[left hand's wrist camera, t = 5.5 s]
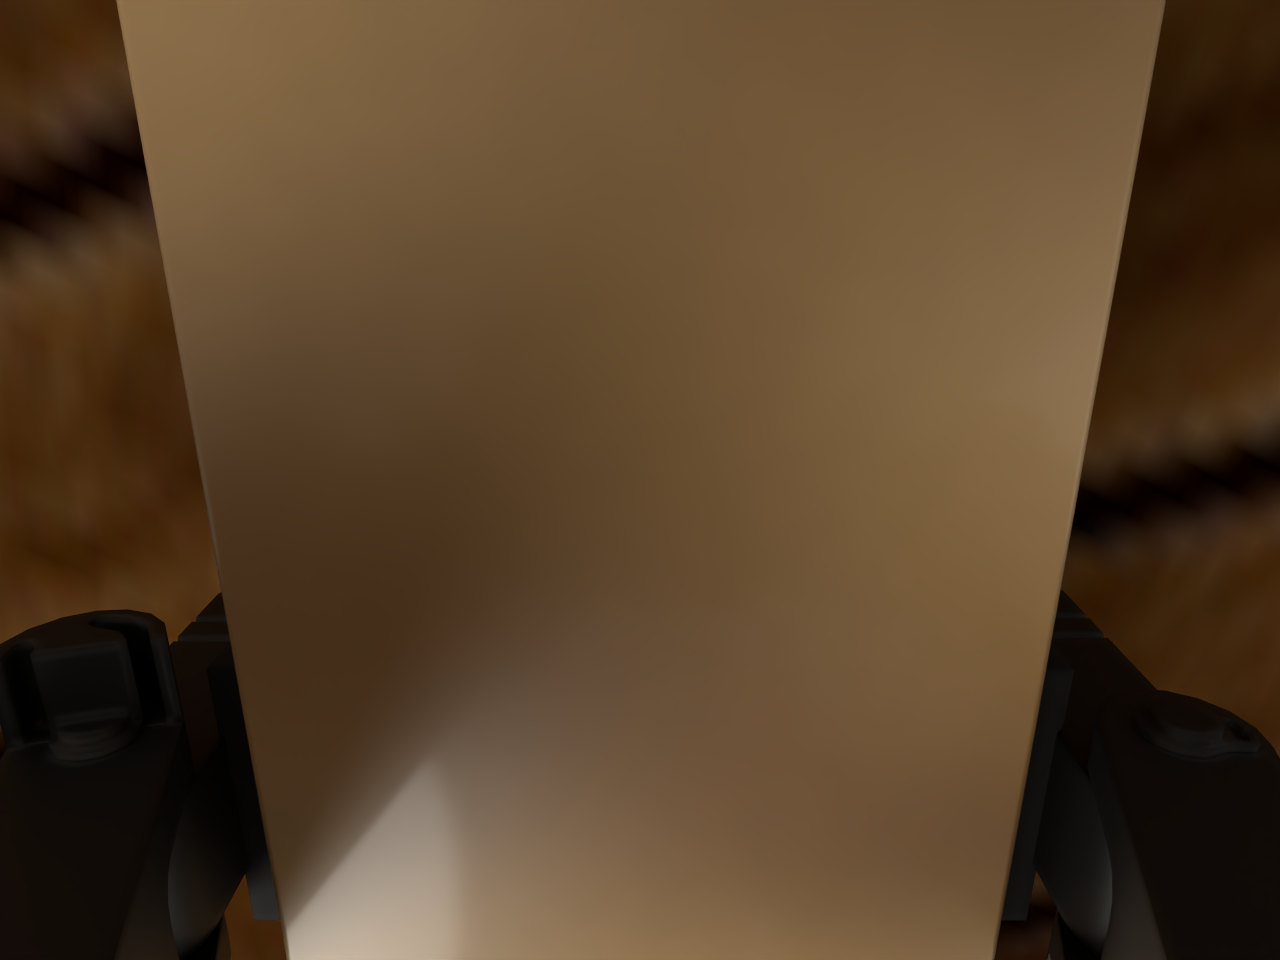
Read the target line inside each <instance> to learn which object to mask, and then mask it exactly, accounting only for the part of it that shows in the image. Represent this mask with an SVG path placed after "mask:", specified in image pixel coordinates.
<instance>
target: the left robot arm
mask: <svg viewBox="0 0 1280 960" xmlns="http://www.w3.org/2000/svg"><path fill="white" fill-rule="evenodd" d="M0 725H1V729H2V732H3V736H4V739H5V743H6V746H7V749H6V751H5V753H4V755H3V756H2V758H1V760H0V960H230V956H231V950H230V943H229V935H228V930H227V925H226V920H225V915H224V911H225V909H226V908H227V906H228V904H229V902H230V900H231V898H232V897H233V895H234V893H235V891H236V889H237V887H238V886H239V884H240V882H241V880H242V878H243V876H244V874H246V880H247V885H248V890H249V895H250V901H251V906H252V911H253V916H254V920H280V917H279V912H278V906H277V900H276V895H275V889H274V884H273V878H272V872H271V867H270V861H269V855H268V850H267V844H266V839H265V833H264V827H263V822H262V816H261V810H260V805H259V799H258V794H257V788H256V782H255V777H254V771H253V765H252V760H251V754H250V749H249V743H248V737H247V732H246V726H245V720H244V715H243V709H242V704H241V698H240V692H239V687H238V681H237V675H236V670H235V664H234V659H233V653H232V647H231V642H230V636H229V630H228V625H227V619H226V614H225V608H224V602H223V597H222V592H221V593H219V594H218V595H217V596H216V597H215V598H214V599H213V600H212V601H211V602H210V603H209V604H208V605H207V606H206V608H205V609H204V610H203V611H202V612H201V613H200V614H199V615H198V616H197V617H196V622H191V623H190V625H189V626H188V627H187V628H186V629H185V630H184V631H183V632H182V633H181V634H180V635H179V636H178V642H173V643H172V644H171V645H170V646H169V642H168V637H167V632H166V627H165V623H164V622H163V621H161V620H160V619H158V618H157V617H155V616H154V615H152V614H150V613H145V612H139V611H133V610H104V611H93V612H88V613H83V614H78V615H73V616H68V617H63V618H60V619H57V620H54V621H51V622H48V623H45V624H42V625H39V626H36V627H33V628H30V629H28V630H26V631H24V632H22V633H20V634H19V635H17V636H15V637H13V638H11V639H9V640H7V641H5V642H3V643H2V644H0ZM1036 870H1037V872H1038V874H1039V876H1040V878H1041V880H1042V881H1043V883H1044V885H1045V887H1046V889H1047V891H1048V892H1049V894H1050V896H1051V898H1052V900H1053V902H1054V903H1055V905H1056V907H1057V910H1056V915H1055V920H1054V925H1053V930H1052V935H1051V939H1050V944H1049V949H1048V954H1047V959H1046V960H1280V758H1279V757H1278V755H1277V753H1276V751H1275V750H1274V748H1273V746H1272V745H1271V744H1270V743H1269V742H1268V741H1267V740H1266V739H1265V738H1264V736H1263V735H1262V734H1261V733H1260V732H1259V731H1258V730H1257V729H1256V728H1255V727H1253V726H1252V725H1250V724H1249V723H1247V722H1246V721H1244V720H1242V719H1241V718H1239V717H1238V716H1236V715H1235V714H1233V713H1231V712H1230V711H1228V710H1225V709H1223V708H1220V707H1218V706H1215V705H1213V704H1210V703H1208V702H1205V701H1203V700H1201V699H1198V698H1194V697H1190V696H1185V695H1181V694H1177V693H1173V692H1168V691H1161V690H1157V689H1156V688H1155V687H1154V686H1153V685H1152V684H1151V683H1150V682H1149V681H1148V680H1147V679H1146V678H1145V677H1144V676H1143V675H1142V674H1141V673H1140V671H1139V670H1138V669H1137V668H1136V667H1135V666H1134V665H1133V664H1132V663H1131V662H1130V661H1129V660H1128V659H1127V658H1126V657H1125V656H1124V655H1123V654H1122V653H1121V651H1120V650H1119V649H1118V648H1117V647H1116V646H1115V645H1114V644H1113V643H1112V642H1111V641H1110V640H1109V639H1108V638H1103V633H1102V632H1101V630H1100V629H1099V628H1098V627H1097V626H1096V625H1095V624H1094V623H1093V622H1092V621H1091V620H1090V619H1085V614H1084V613H1083V612H1082V610H1081V609H1080V608H1079V607H1078V606H1077V605H1076V604H1075V603H1074V602H1073V601H1072V600H1071V599H1070V598H1069V597H1068V596H1067V595H1066V594H1065V593H1064V592H1063V591H1062V590H1060V595H1059V600H1058V606H1057V612H1056V617H1055V623H1054V628H1053V634H1052V640H1051V645H1050V651H1049V656H1048V662H1047V668H1046V673H1045V679H1044V684H1043V690H1042V695H1041V701H1040V707H1039V712H1038V718H1037V723H1036V729H1035V735H1034V740H1033V746H1032V751H1031V757H1030V763H1029V768H1028V774H1027V779H1026V785H1025V790H1024V796H1023V802H1022V807H1021V813H1020V818H1019V824H1018V830H1017V835H1016V841H1015V846H1014V852H1013V858H1012V863H1011V869H1010V874H1009V880H1008V885H1007V891H1006V897H1005V902H1004V908H1003V913H1002V919H1001V920H1027V914H1028V909H1029V904H1030V899H1031V893H1032V888H1033V883H1034V878H1035V873H1036Z"/></svg>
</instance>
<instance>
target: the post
mask: <svg viewBox="0 0 1280 960" xmlns="http://www.w3.org/2000/svg"><path fill="white" fill-rule="evenodd" d="M1165 3H1166V0H117V6H118V12H119V17H120V23H121V29H122V34H123V40H124V45H125V51H126V57H127V62H128V68H129V74H130V79H131V85H132V90H133V96H134V102H135V107H136V113H137V119H138V124H139V130H140V135H141V141H142V147H143V152H144V158H145V164H146V169H147V175H148V180H149V186H150V192H151V197H152V203H153V209H154V214H155V220H156V225H157V231H158V237H159V242H160V248H161V254H162V259H163V265H164V270H165V276H166V282H167V287H168V293H169V299H170V304H171V310H172V315H173V321H174V327H175V332H176V338H177V344H178V349H179V355H180V360H181V366H182V372H183V377H184V383H185V389H186V394H187V400H188V405H189V411H190V417H191V422H192V428H193V434H194V439H195V445H196V450H197V456H198V462H199V467H200V473H201V479H202V484H203V490H204V495H205V501H206V507H207V512H208V518H209V524H210V529H211V535H212V540H213V546H214V552H215V557H216V563H217V569H218V574H219V580H220V585H221V591H222V597H223V602H224V608H225V614H226V619H227V625H228V630H229V636H230V642H231V647H232V653H233V659H234V664H235V670H236V675H237V681H238V687H239V692H240V698H241V704H242V709H243V715H244V720H245V726H246V732H247V737H248V743H249V749H250V754H251V760H252V765H253V771H254V777H255V782H256V788H257V794H258V799H259V805H260V810H261V816H262V822H263V827H264V833H265V839H266V844H267V850H268V855H269V861H270V867H271V872H272V878H273V884H274V889H275V895H276V900H277V906H278V912H279V917H280V923H281V929H282V934H283V940H284V945H285V951H286V957H287V960H994V958H995V953H996V947H997V941H998V936H999V930H1000V925H1001V919H1002V913H1003V908H1004V902H1005V897H1006V891H1007V885H1008V880H1009V874H1010V869H1011V863H1012V858H1013V852H1014V846H1015V841H1016V835H1017V830H1018V824H1019V818H1020V813H1021V807H1022V802H1023V796H1024V790H1025V785H1026V779H1027V774H1028V768H1029V763H1030V757H1031V751H1032V746H1033V740H1034V735H1035V729H1036V723H1037V718H1038V712H1039V707H1040V701H1041V695H1042V690H1043V684H1044V679H1045V673H1046V668H1047V662H1048V656H1049V651H1050V645H1051V640H1052V634H1053V628H1054V623H1055V617H1056V612H1057V606H1058V600H1059V595H1060V589H1061V584H1062V578H1063V573H1064V567H1065V561H1066V556H1067V550H1068V545H1069V539H1070V533H1071V528H1072V522H1073V517H1074V511H1075V505H1076V500H1077V494H1078V489H1079V483H1080V478H1081V472H1082V466H1083V461H1084V455H1085V450H1086V444H1087V438H1088V433H1089V427H1090V422H1091V416H1092V410H1093V405H1094V399H1095V394H1096V388H1097V383H1098V377H1099V371H1100V366H1101V360H1102V355H1103V349H1104V343H1105V338H1106V332H1107V327H1108V321H1109V315H1110V310H1111V304H1112V299H1113V293H1114V288H1115V282H1116V276H1117V271H1118V265H1119V260H1120V254H1121V248H1122V243H1123V237H1124V232H1125V226H1126V220H1127V215H1128V209H1129V204H1130V198H1131V193H1132V187H1133V181H1134V176H1135V170H1136V165H1137V159H1138V153H1139V148H1140V142H1141V137H1142V131H1143V125H1144V120H1145V114H1146V109H1147V103H1148V98H1149V92H1150V86H1151V81H1152V75H1153V70H1154V64H1155V58H1156V53H1157V47H1158V42H1159V36H1160V30H1161V25H1162V19H1163V14H1164V8H1165Z"/></svg>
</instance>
